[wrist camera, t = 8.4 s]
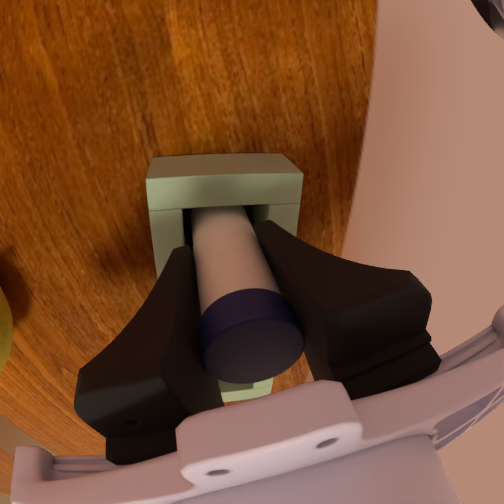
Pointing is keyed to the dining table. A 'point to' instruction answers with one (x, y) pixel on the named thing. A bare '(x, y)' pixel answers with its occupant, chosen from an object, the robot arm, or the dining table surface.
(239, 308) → the test tube
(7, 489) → the dining table surface
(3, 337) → the apple
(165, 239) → the tube rack
